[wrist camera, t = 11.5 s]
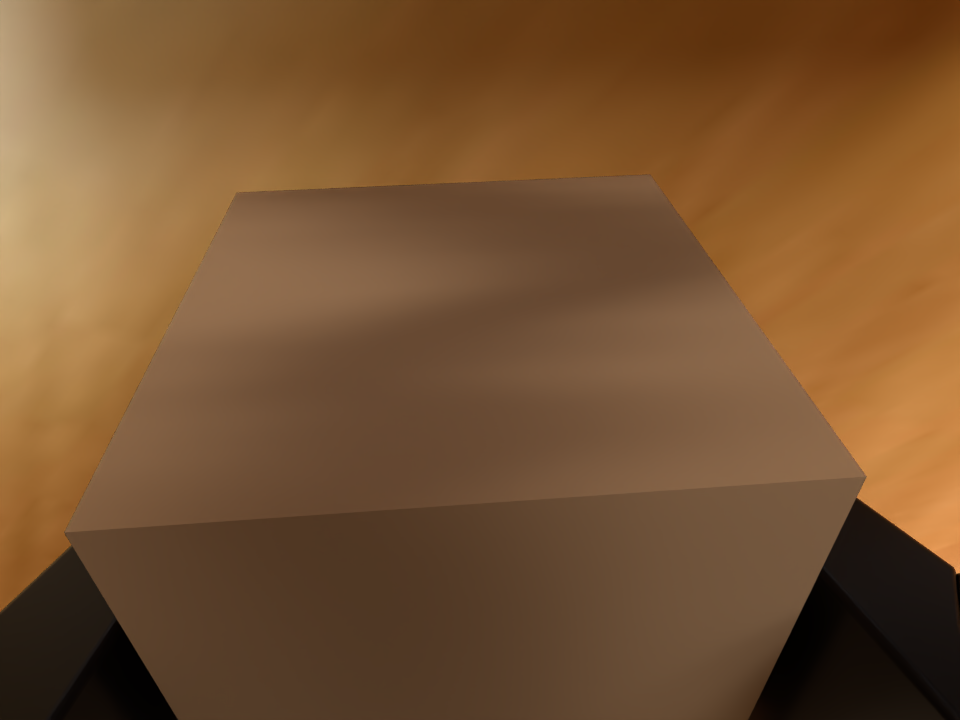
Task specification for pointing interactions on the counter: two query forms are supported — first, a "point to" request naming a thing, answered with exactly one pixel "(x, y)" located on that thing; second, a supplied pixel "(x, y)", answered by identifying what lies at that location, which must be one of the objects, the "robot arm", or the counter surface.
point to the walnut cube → (463, 466)
